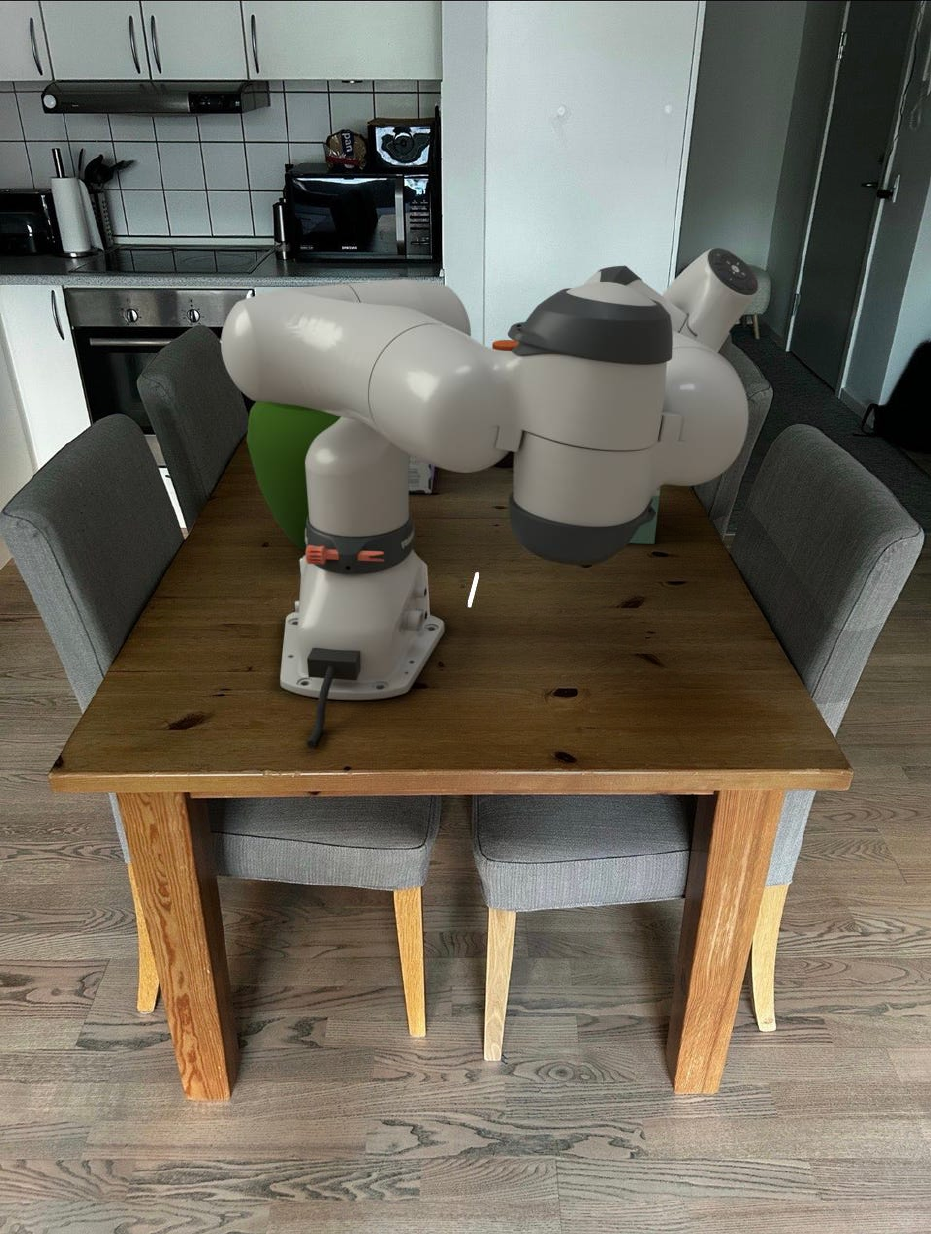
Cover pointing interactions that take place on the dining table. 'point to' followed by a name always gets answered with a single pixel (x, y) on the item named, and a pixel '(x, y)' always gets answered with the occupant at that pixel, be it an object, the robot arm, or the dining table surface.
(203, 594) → the dining table surface
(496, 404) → the robot arm
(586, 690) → the dining table surface
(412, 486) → the candy box
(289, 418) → the vase
